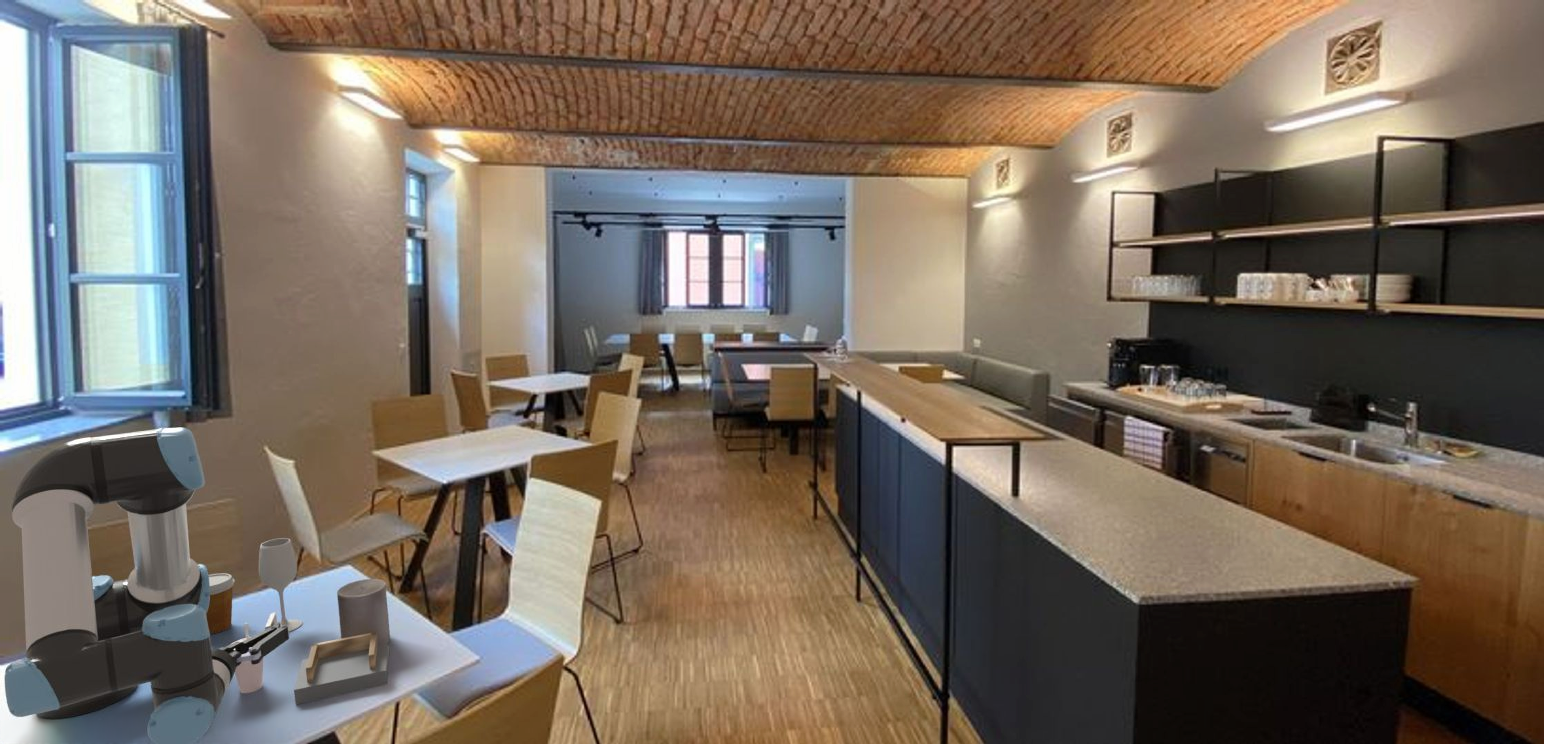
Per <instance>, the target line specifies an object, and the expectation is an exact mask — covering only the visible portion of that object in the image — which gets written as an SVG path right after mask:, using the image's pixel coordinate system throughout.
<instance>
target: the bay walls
mask: <svg viewBox="0 0 1544 744" xmlns="http://www.w3.org/2000/svg"><path fill="white" fill-rule="evenodd" d="M377 646H378V643H377V633H376V632H373V633H368V634H363V635H357V636H352V637H347V638H342V639H341V638H337V639H332V640H327V641H322V642H317V643H312V644H311V647H310V651H309V656H308V658H307V659H308V662H307V665H306V676H307V682H312V681H313V680H314V676H315V672H316V668H317V664H318V660H319V658H324V657H329V656H334V655H339V654H344V653H349V652H354V651H359V650H364V649H369V666H370V669H374V668H375V667H376V657H377Z"/></svg>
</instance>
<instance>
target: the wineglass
mask: <svg viewBox="0 0 1544 744" xmlns="http://www.w3.org/2000/svg"><path fill="white" fill-rule="evenodd" d="M297 572H298V561H297V557H296V553H295V549H294V547H293V543H292V541H291V539H290V538H286V537H283V538H281V537H279V538H273V539H270V540H267V541H264V542H262V543H261V544H260V546H259V553H258V575H259V579H260V580H261V582H262V583H263V584H264V585H265V586H267V587H268V588H270V589H272V590H274V591H276V592H277V594H278V596H279V597H278V598H279V603H280V604H279V605H280V613H281V614H280V615H281V620H280V621H279V622H280V627H281V626H285V625H287V626H288V633H290V632H293V631H295V630H297V629H300V627H302V625H303V620H300V619H287V617H286V609H285V602H284V591H285V589H286V588H287V587H288V586H289V585H290V584H291V583H292V582H293V581H294V579H296V576H297Z"/></svg>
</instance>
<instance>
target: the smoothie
mask: <svg viewBox="0 0 1544 744" xmlns="http://www.w3.org/2000/svg"><path fill="white" fill-rule="evenodd" d="M244 631H245V637H244V638H241V639H238V640H236V641H234V642H242V641H244V640H246V639H248V638H250V637H251V636H250V629H249V623H248V622H244ZM234 642H232V643H234ZM233 650H235V649H233ZM263 672H264V657H263V658H262V660H261V661H260V662H259V663H258V664H254V665H253V664H252V663H251V661H244V662H242V663H241V664H240V665H239V666H237V667H236V670H235V673H234V675H235V677H236V680H237V681H236V682H237V684H238V688H239V691H240V693H241V694H251V693H254V692H257V691H259V690H260V689H262V687H263V678H264V677H263V675H264V674H263Z"/></svg>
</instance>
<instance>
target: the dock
mask: <svg viewBox="0 0 1544 744" xmlns="http://www.w3.org/2000/svg"><path fill="white" fill-rule="evenodd" d="M389 651H390V650H389V643H385V644H380V645H378V646H377V657H376V667H375V668H374V669H370V666H369V649H364V650H359V651H354V652H349V653H344V654H339V655H334V656H329V657H324V658H319V660H318V664H317V668H316V672H315V676H314V680H313V681H312V682H307V676H306V665H307V662H308V658H305V659H302V660H301V664H300V668H299V671H298V675H297V678H296V682H295V685H294V688H293V693H294V702H295V703H294V704H295V705H299V704H303V703H307V702H312V701H318V700H322V699H326V698H330V697H335V696H340V695H345V694H348V693H355V692H359V691H362V690H367V689H372V688H377V687H381V686H386V685H388V679H389V678H388V677H389V676H388V675H389V663H390V662H389V661H390V652H389Z"/></svg>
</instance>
